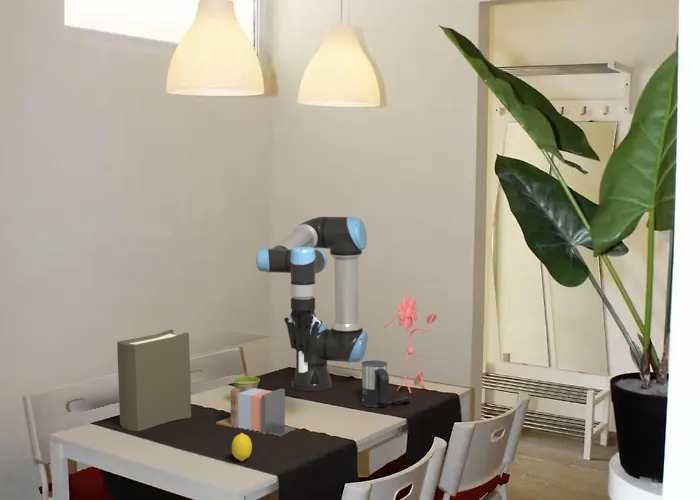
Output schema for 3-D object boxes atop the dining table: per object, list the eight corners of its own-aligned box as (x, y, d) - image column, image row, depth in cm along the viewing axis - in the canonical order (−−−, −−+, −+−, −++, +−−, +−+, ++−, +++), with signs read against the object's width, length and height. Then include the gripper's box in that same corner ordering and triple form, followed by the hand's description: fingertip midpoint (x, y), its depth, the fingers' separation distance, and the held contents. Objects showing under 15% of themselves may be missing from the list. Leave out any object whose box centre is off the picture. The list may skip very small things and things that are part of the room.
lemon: (228, 463, 225) (228, 434, 225) (237, 457, 231) (237, 429, 230) (245, 465, 223) (246, 437, 223) (255, 459, 229) (255, 431, 228)
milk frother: (355, 403, 288) (355, 362, 287) (388, 396, 298) (389, 356, 297) (382, 412, 277) (383, 369, 276) (416, 404, 287) (416, 363, 286)
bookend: (280, 425, 261) (280, 388, 260) (297, 429, 257) (297, 391, 256) (261, 433, 252) (261, 395, 251) (278, 437, 249) (278, 398, 248)
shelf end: (236, 416, 270) (236, 380, 269) (255, 420, 266) (255, 384, 265) (216, 424, 262) (216, 387, 261) (235, 428, 257) (235, 390, 256)
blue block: (253, 421, 265) (253, 388, 264) (266, 424, 262) (266, 390, 262) (237, 427, 258) (237, 393, 257) (250, 430, 256) (250, 395, 255)
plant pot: (242, 409, 279) (242, 384, 278) (227, 403, 286) (227, 379, 285) (265, 404, 285) (265, 380, 284) (249, 399, 292) (249, 375, 292)
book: (135, 434, 252) (132, 344, 250) (117, 428, 258) (114, 340, 256) (191, 417, 269) (188, 333, 266) (173, 412, 275) (170, 329, 272)
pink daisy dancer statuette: (440, 385, 315) (442, 295, 313) (398, 398, 296) (400, 301, 293) (408, 378, 326) (410, 291, 323) (366, 390, 306) (367, 297, 303)
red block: (266, 424, 262) (266, 390, 262) (278, 426, 260) (279, 392, 259) (250, 430, 256) (250, 395, 255) (263, 433, 253) (263, 397, 252)
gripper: (327, 297, 254) (327, 371, 257) (292, 293, 261) (293, 366, 263) (313, 300, 248) (313, 377, 250) (278, 296, 254) (279, 371, 257)
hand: (303, 371), depth 257 cm, fingers closed
